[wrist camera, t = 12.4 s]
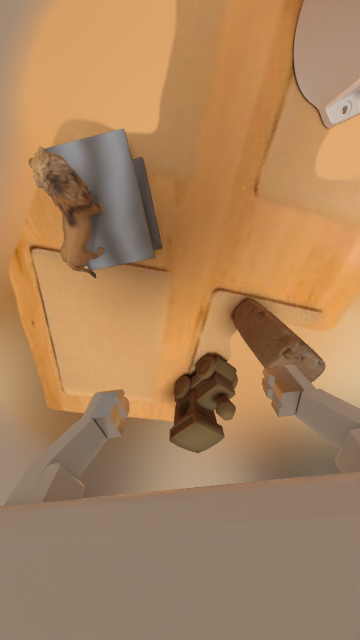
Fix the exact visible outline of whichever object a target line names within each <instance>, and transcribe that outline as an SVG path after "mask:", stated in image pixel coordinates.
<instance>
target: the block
mask: <svg viewBox="0 0 360 640" xmlns="http://www.w3.org/2000/svg"><path fill="white" fill-rule="evenodd" d="M233 323H234V325H235V327H236V328H237V329H238V331H239V333H240V334H241V336H242V338H243V339H244V340H245V342H246V343H247V344H248V346H249V347H250V349H251V350H252V351H253V353H254V354H255V356H256V357H257V358H258V360H259V361H260V362H261V364H262V365H263V366H264V367H265V368H272V367H278V366H285V365H292V364H293V365H295V366H296V367H297V368H298V369H299V371H300V372H301V373H302V374H303V375H304V376H305V377H306V378H307V379H308V380H309V381H310V382H311V383H312V382H313V381H315V380H316V379H317V378H318V377H319V376H320V375H321V374H322V373H323V371H324V370H325V362H324V361H323V360H322V359H321V357H319V356H318V354H316V353H315V351H314V350H312V349H311V348H310V347H309V346H308V345H307V344H306V343H305V342H304V341H303V340H302V339H300V338H299V337H298V336H297V335H296V334H295V333H294V332H293V331H292V330H290V329H289V328H288V327H287V326H286V325H285V324H284V323H283V322H281V321H280V320H279V319H278V318H277V317H276V316H275V315H273V314H272V313H271V312H270V311H268V310H267V309H266V308H265V307H263V306H262V305H261V304H259V303H258V302H256V301H255V300H252V299H248V300H246V301H245V302H243V303H242V304H241V305H240V306H239V307H238V308H237V309H236V311H235V313H234V317H233Z"/></svg>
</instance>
